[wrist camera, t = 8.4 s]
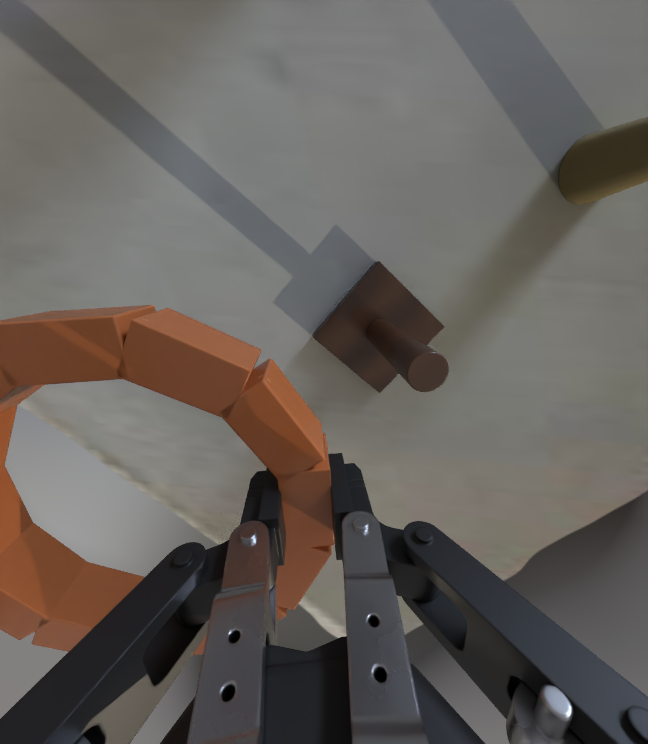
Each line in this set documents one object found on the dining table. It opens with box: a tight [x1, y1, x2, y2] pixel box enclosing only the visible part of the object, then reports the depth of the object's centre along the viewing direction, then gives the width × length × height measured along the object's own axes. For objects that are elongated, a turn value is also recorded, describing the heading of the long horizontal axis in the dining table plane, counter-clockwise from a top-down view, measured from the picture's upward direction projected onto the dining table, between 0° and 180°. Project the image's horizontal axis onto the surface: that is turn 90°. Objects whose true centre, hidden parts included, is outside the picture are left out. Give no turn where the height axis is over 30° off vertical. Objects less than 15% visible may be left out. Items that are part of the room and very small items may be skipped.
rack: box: [313, 262, 448, 393], centre depth 26 cm, size 10×10×14 cm
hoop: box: [0, 305, 335, 655], centre depth 13 cm, size 16×16×3 cm
